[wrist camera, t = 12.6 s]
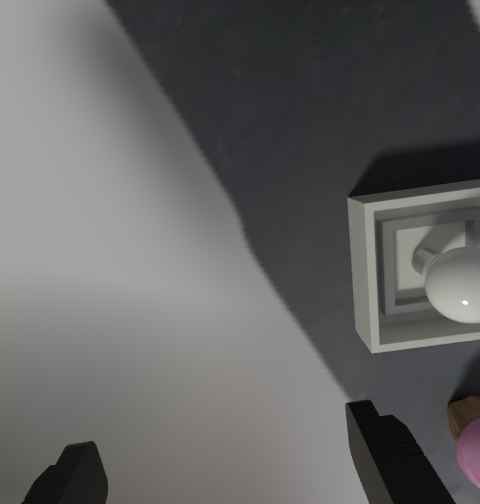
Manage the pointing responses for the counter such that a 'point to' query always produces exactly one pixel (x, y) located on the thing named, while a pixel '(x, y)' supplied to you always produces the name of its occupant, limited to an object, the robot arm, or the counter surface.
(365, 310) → the walled box
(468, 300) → the lightbulb
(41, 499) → the robot arm
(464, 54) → the counter surface
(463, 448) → the cupcake
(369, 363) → the counter surface
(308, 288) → the counter surface
